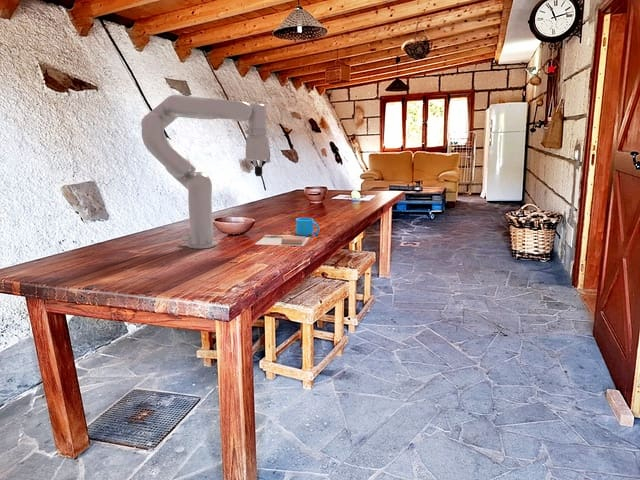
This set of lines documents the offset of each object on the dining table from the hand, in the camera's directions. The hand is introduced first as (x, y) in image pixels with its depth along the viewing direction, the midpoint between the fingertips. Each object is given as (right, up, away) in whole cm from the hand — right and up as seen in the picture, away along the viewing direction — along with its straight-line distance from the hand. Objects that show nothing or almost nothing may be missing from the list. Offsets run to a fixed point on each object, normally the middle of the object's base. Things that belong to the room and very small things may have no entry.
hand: (258, 176), depth 207 cm
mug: (+21, -27, +15) cm, 38 cm away
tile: (+11, -28, -3) cm, 30 cm away
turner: (+10, -27, +7) cm, 30 cm away
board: (+11, -30, +1) cm, 32 cm away
